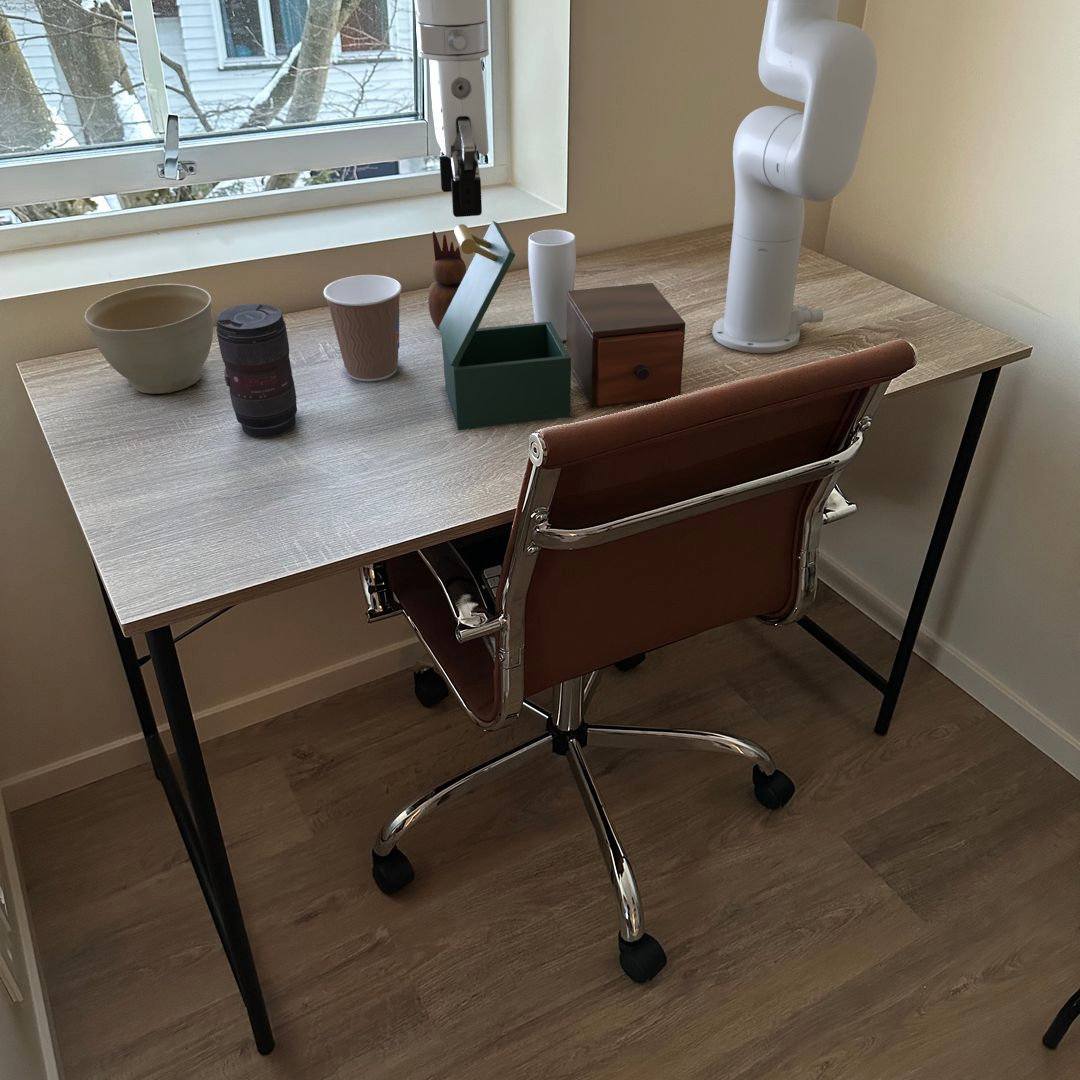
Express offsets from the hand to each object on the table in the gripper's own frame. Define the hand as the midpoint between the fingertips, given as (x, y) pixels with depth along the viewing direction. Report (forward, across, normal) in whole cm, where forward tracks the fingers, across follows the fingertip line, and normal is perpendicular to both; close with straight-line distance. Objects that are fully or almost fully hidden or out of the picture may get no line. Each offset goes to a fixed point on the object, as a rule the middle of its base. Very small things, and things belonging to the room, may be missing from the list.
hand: (461, 202), depth 118 cm
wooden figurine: (+27, +25, -1) cm, 37 cm away
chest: (+26, 0, -5) cm, 27 cm away
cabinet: (+26, +3, -21) cm, 34 cm away
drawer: (+25, +1, -21) cm, 33 cm away
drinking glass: (+26, +19, -15) cm, 36 cm away
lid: (+11, 0, -2) cm, 11 cm away
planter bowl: (+27, +18, +40) cm, 51 cm away
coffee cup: (+27, +14, +12) cm, 33 cm away
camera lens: (+27, +1, +26) cm, 37 cm away
